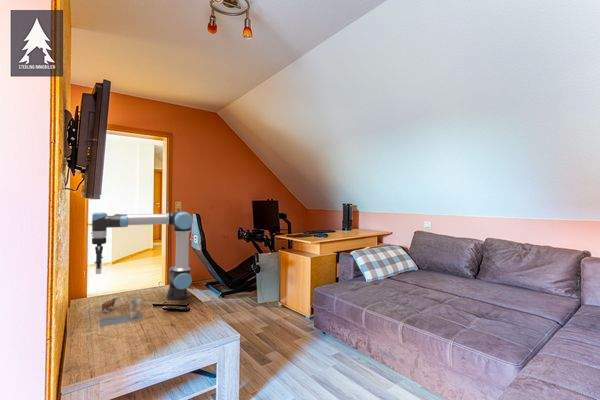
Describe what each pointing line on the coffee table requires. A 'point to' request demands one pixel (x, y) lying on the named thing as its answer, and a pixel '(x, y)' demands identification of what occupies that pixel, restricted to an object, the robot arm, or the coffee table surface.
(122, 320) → the felt mat
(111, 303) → the bull figurine
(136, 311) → the beech block
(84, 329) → the coffee table surface
